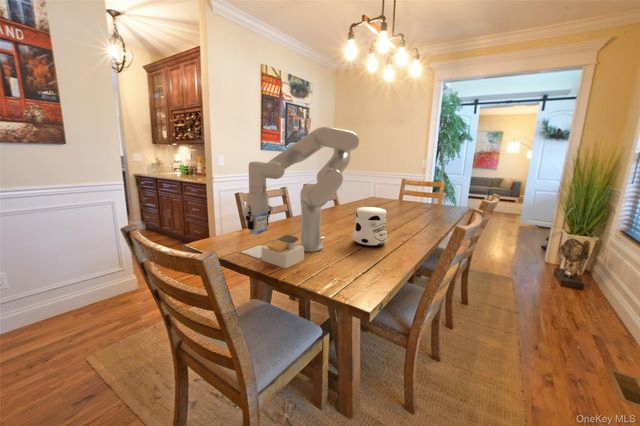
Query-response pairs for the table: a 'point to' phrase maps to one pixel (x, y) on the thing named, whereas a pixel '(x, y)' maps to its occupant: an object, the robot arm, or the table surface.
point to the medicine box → (259, 224)
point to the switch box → (283, 255)
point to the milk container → (370, 226)
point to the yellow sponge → (282, 242)
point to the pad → (254, 252)
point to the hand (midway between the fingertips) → (258, 227)
